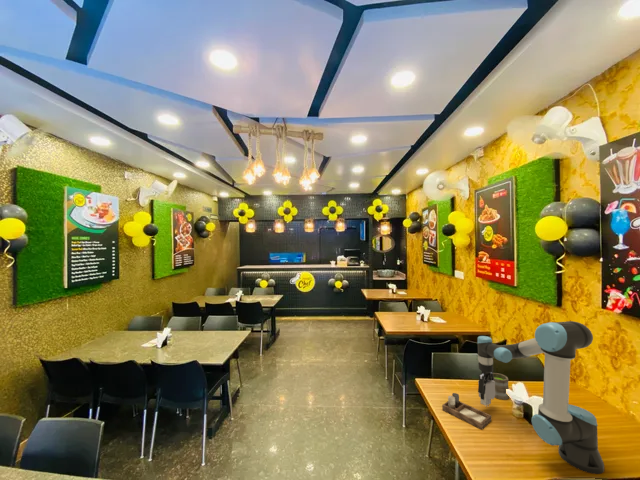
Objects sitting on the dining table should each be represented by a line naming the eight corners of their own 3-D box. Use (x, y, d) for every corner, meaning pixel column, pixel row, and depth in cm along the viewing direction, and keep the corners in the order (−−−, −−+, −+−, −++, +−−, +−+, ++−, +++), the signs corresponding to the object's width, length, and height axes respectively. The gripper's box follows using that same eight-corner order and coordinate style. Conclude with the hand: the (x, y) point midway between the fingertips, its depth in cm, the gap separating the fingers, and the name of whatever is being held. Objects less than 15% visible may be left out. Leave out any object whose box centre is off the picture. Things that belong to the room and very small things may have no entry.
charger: (496, 407, 161) (495, 381, 162) (485, 410, 158) (484, 384, 158) (489, 403, 166) (488, 378, 166) (478, 406, 162) (477, 380, 163)
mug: (513, 399, 172) (512, 380, 173) (496, 399, 173) (495, 380, 173) (497, 386, 188) (497, 369, 188) (481, 387, 188) (481, 369, 188)
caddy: (491, 420, 152) (491, 406, 152) (481, 429, 145) (481, 414, 145) (452, 402, 170) (452, 389, 170) (442, 410, 163) (442, 396, 163)
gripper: (487, 356, 172) (488, 392, 171) (470, 366, 159) (471, 405, 158) (500, 360, 166) (502, 397, 165) (484, 370, 153) (485, 411, 152)
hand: (487, 401), depth 162 cm, fingers closed on charger, 10 cm apart
